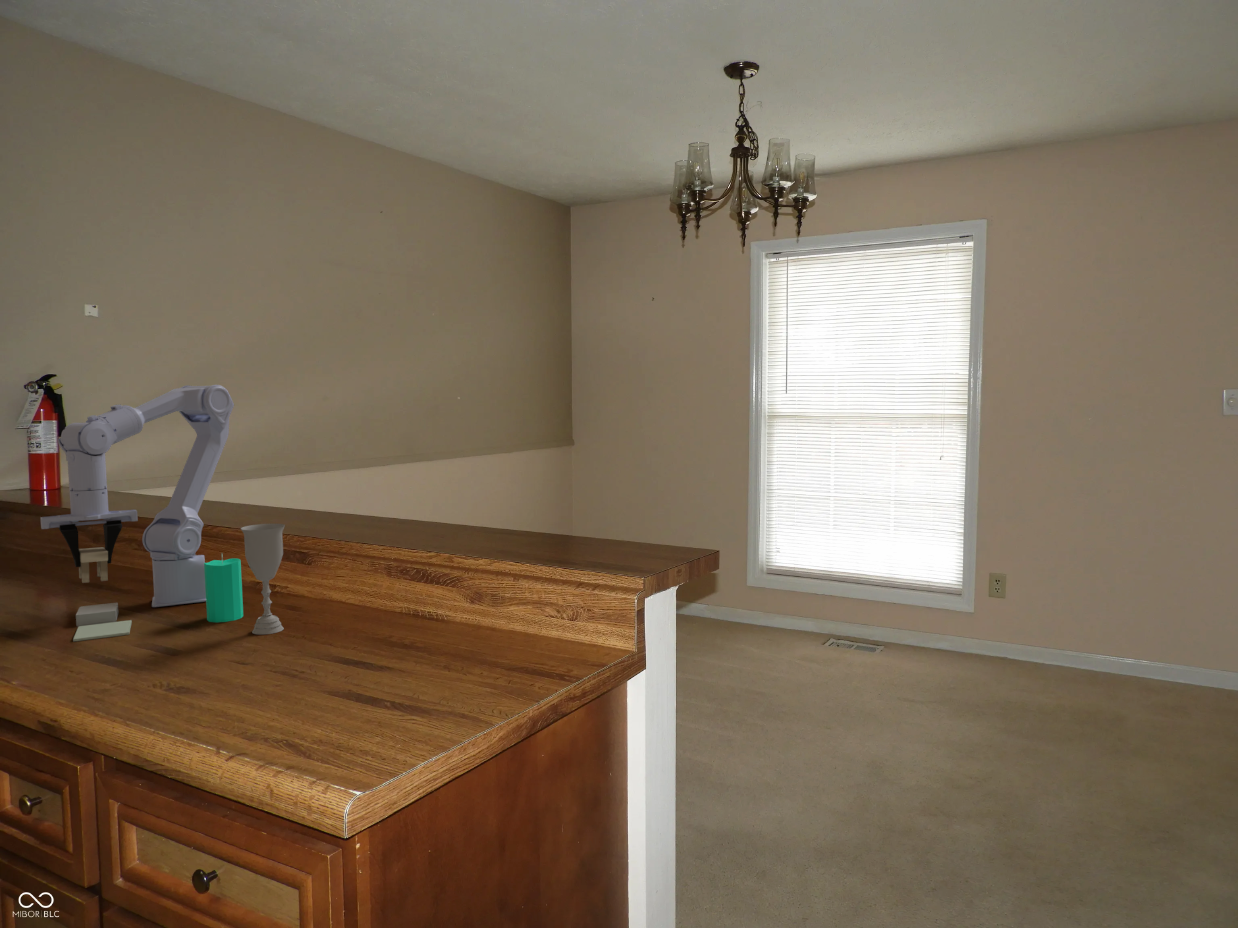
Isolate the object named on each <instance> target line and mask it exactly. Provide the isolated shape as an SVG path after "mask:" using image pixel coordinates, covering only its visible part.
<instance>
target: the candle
mask: <svg viewBox="0 0 1238 928" xmlns="http://www.w3.org/2000/svg"><path fill="white" fill-rule="evenodd" d="M223 558H224V557H223V552H221V560H220V559H219V560H217V559H213V560H211V561H209V562H205V563H204V572H205V590H206V601H205V605H206V606H205V607H206V608H205V609H206V621H208V622H209V623H226V622H227V623H228V622H233V621H237V620H240V619H242V618H243V617H244V604H243V602H244V601H243V600H244V599H243V581H242V580H243V579H242V564H241V562H242V561H241V559H240V558H235V557H234V558H233V557H232V558H228V559H223Z"/></svg>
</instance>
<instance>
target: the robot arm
mask: <svg viewBox="0 0 1238 928" xmlns="http://www.w3.org/2000/svg"><path fill="white" fill-rule="evenodd" d="M234 406H235V404H234V401H233V399H232V396H231V395H230V392H229V391H228V389H227V388H225V386H223V385H221V384H212V385H183V386H181V387H178V388H177V387H176V388H173V389H171V390H170V391H167V392H165V393H164V394H161V395H159V396H156V397H155V398H153V399H151V400H148V401H146V402H143V403H142V404H140V405H137V406H136V407H133V406H131V405H127V404H123V405H122V404H114V405H111V406H110V410H108V411H105V412H103V413H101V414H98V415H96V414H92V415H89V416H87V419H86V421H85V422H72V423H69V424H68V425H66V426H65V427H64V429H63V430H62V431H61V435H60V437H59V438H57V443H58V446H59V447H60V449H61V450H62V451H63V452H64V454H65V456H66V457H65V458H66V459H65V461H66V462H67V472H68V473H67V474H68V489H69V504H70V513H69V514H68V513H67V514H61V515H60V514H59V515H50V516H42V517H41V516H40V529H41V530H49V529H53V528H58V530H59V531H60V533H61V534H62V536H63V538H64V539H65V541H66V544H67V545H68V548H69V550H70V552H71V555H72V558H73V561H74V566H75V568H79V567H81V561H80V554H79V549H80V548H79V547H80V545H79V530H78V526H86V525H87V526H89V525H99V524H103V526H102V527H103V528H102V529H103V537H104V548H105V549H106V550H107V551H108V561H107V565H108V564H109V565H110V564H112V556H113V552H114V548H115V545H116V542H117V539H118V537H119V535H120V533H121V531H122V529H123V524H122V522H124V523H125V522H138V521H139V520H138V519H139V518H138V510H137V509H125V510H109V497H108V495H109V494H108V481H107V480H108V479H107V463H106V460H107V459H106V453H107V452H108V451H109V450H110V449H111V448H112V446H113V445H115V444H117V443H120V442H122V441H124V440H126V439H128V438H130V437H133V436H136V435H137V434H140V433H141V432H142V431H143V428H144V425H145V424H147V423H150V422H151V421H154V420H158V419H159V418H162V417H165V416H168V415H171V414H173V413H176V412H178V413H179V414H181V416H182V417H183V418H184V420H185V421H186V422H187V423H188V425H190V426H191V428H192V429H193V431H194V432H195V435H196V438H195V440H194V442H193V444H192V447H191V450H190V452H189V455H188V457H187V458H186V459H187V460H186V462H185V464H184V465H183V468H182V472H181V474H180V477H179V479H178V481H177V483H176V486H175V489H174V490H173V493H172V496H171V497H170V500H169V503H168V504H167V506H166V507H164V508H163V509H162V510H161V511H159V512H157V514H155V517H154V519H153V521H152V522H151V523H150V524H149V525H148V526H147V527H146V528H145V529H144V532H143V534H142V539H141V540H142V541H141V542H142V544H143V547H144V549H145V550H146V551H147V552H148V553H149V555H150V556H149V557H150V558H151V562H152V563H151V564H152V577H153V579H152V582H153V596H152V599H151V600H152V602H151V607H152V608H160V607H168V606H177V605H184V604H185V605H186V604H193V603H194V604H195V603H203V602H206V590H205V572H204V563H206V562H205V561H206V560H205V558H206V557H205V555H204V554H198V555H197V554H196V552H197V551H198V550H199V548H200V546H201V544H202V543H201V542H202V531H203V527H204V526H205V525H204V522H203V521H202V519H201V518H200V516H199V514H198V513H199V511H200V509H201V507H202V503H203V501H204V500H205V496H206V494H207V490H208V489H209V486H210V483H211V482H212V479H213V476H214V474H215V471H216V468H217V465H218V464H219V463H218V462H219V461H220V458H221V456H222V453H223V451H224V448H225V446H226V443H227V440H228V438H229V435H230V417H231V414H232V412H233V409H234Z"/></svg>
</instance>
